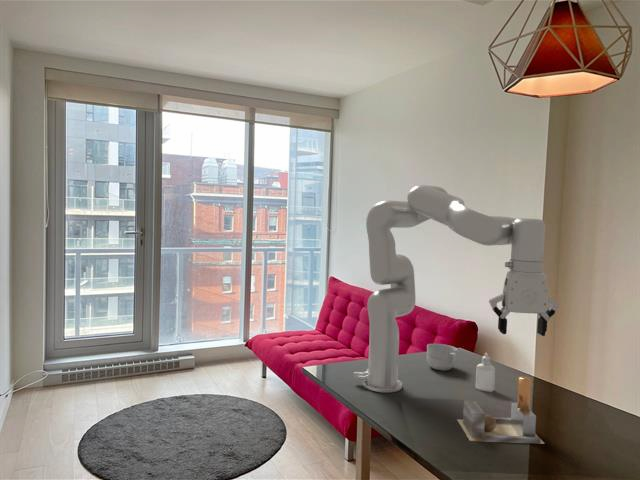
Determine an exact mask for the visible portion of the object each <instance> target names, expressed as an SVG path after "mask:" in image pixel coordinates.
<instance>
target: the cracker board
mask: <svg viewBox="0 0 640 480" xmlns="http://www.w3.org/2000/svg"><path fill="white" fill-rule="evenodd" d="M485 415H486V413H485V412H484V411H483V409H482V408H481V406H480V405H479V404H478V403H477V401H476V400H463V412H462V419H456V420H457V422H458V424H459V425H460V427H461V429H462V430H463V432H464V434H465V435H466V437H467V438H468V440H469V442H489V443H491V442H492V443H512V444H513V443H516V444H517V443H518V444H538V445H539V444H540V445H541V444H543V445H544V444H545V442H544V441H543V440H542V438H540V437H539V436H538V434H537V433H535V437H524V436H521V435H520V434H519V433H518V432H517V431H516V429H515V428H514V427H513V426H512V425H511V417H496V416H495V417H494V416H493V417H494V419H495V421H496V427H495V429H494V430H492V431H485V430H484V426H485Z"/></svg>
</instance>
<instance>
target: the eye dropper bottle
mask: <svg viewBox="0 0 640 480" xmlns="http://www.w3.org/2000/svg"><path fill="white" fill-rule="evenodd" d="M481 359H482V360H481V363H478V364H477V365H476V369H475V370H476V371H475V389H476V390H478V391H482V392H486V393H492V392H494V390H495V381H496V379H495V378H496V368H495V366H493V365H492V364H491V357H490V356H489V353H487V352H485V353H484V355H483V356H482V357H481Z"/></svg>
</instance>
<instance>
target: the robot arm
mask: <svg viewBox="0 0 640 480" xmlns="http://www.w3.org/2000/svg"><path fill="white" fill-rule="evenodd" d="M429 220H433V221H435V222H438V223H440V224H442V225H444V226H447V227H448V228H449V229H450V230H452V231H453V232H454V233H456V234H457V235H460V237H463V238H465V239H467V240H469V241H472V242H475V243H478V244H479V245H483V246H503V245H504V246H506V245H507V246H508V245H511V246H510V247H511V249H510V250H511V251H510V259H509V261H506V262H504V267H505V268H508V269H509V270H508V271H507V273H506V276H505V279H504V283H503V284H504V285H503V289H502V293H500V294H498V295H497V296H495V297H492V298H489V301H488V303H489V305H490V307H491V309H492V311H493V312H494V313H495V315H497V317H498V321H497V329H498V330H499V332H500V333H501V334H502V335H506V334H507V329H508V328H507V327H508V319H507V318H506V317H507V316H508V315H509V314H511V313H515V314H537V315H539V317H538V319H537V327H536V330H537V331H536V333H537V334H539V335H540V336H542V337H545V336H546V332H547V331H548V321H550V318H551V317H553V316H554V315H555V314H556V311H557V310H558V308H559V306H560V303H559V302H558V301H556V300H554V299H552V298H550V297H549V293H548V291H549V290H548V282H547V275H546V274H545V273H543V265H544V252H545V251H544V250H545V235H546V223H545V222H544V220H542V219H539V218H524V217H523V218H522V217H521V218H514V217H509V216H496V215H493V216H490V215H487V214H484V213H481V212H478V211H476V210H473V209H471V208H469V207H467V206H465V201H464V200H463V199H462V198H460V197H457V196H455V195H452V194H450V193H448V191H446V189H444V188H443V187H440V186H438V185H437V186H435V185H426V184H422V185H416V186H414V187H412V188H411V189H410V190H409V192H408V194H407V197H406V201H404V200H383V201H379V202H377V203H376V204H374V205H373V206H371V208H370V209H369V211H368V213H367V217H366V222H365V223H366V224H365V227H366V234H367V239H368V258H369V272H370V278H371V280H372V281H373V282H374V284H377V285H380V286H381V285H382V286H386V285H390V288H384V289H377V290H376V291H374V292H373V293H371V294H370V296H369V297H368V299H367V313H368V321H369V325H368V326H369V331H368V332H369V334H368V336H369V341H368V342H369V345H368V367H367V368H366V370H365V371H363V372H360V371H354V372H353V378H354V379H357V380H358V381H362V385H363V387H364V388H365V389H367V390H369V391H371V392H376V393H377V392H378V393H382V394H383V393H385V394H386V393H395V392H398V391H399V392H400V391H401V390H402V388H403V382H401V380H399V379H398V376H399V371H398V370H399V354H400V353H399V352H400V351H399V350H400V349H399V348H400V331H399V330H400V328H399V326H398V322H397V320H396V318H399V317H403V316H407V315H409V314H410V313H412V311H413V310H414V309H415V306H416V282H415V279H416V278H415V269H414V265H413V263H412V261H411V260H410V258H408V257H407V256H406V255H403V254H397V250H396V241H395V237H394V235H393V233H392V231H391V229H392V228H393V229H394V228H396V229H397V228H398V229H399V228H401V229H402V228H407V229H408V228H413V227H416V226H418V225H420V224H423V223H425V222H426V221H429ZM500 302H501V306H502V307H501V308H500V309H499V307H498V305H497V303H500ZM549 305H550V307H549V308H548V306H549Z"/></svg>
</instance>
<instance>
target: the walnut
mask: <svg viewBox="0 0 640 480" xmlns="http://www.w3.org/2000/svg"><path fill="white" fill-rule="evenodd" d="M495 427H496V421H495V419H494V416H493V415H491V414H486V413H485V426H484V430H485V431H492V430H494V429H495Z"/></svg>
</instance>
